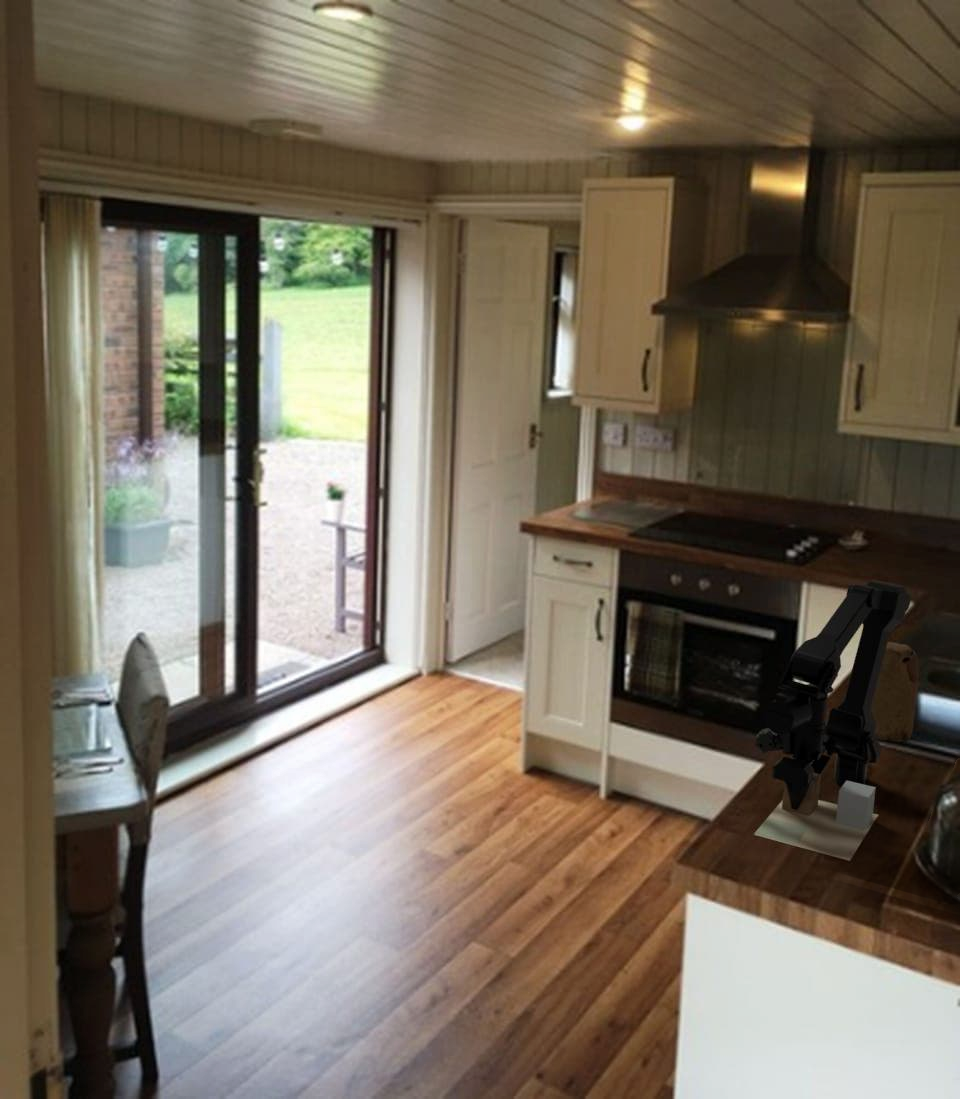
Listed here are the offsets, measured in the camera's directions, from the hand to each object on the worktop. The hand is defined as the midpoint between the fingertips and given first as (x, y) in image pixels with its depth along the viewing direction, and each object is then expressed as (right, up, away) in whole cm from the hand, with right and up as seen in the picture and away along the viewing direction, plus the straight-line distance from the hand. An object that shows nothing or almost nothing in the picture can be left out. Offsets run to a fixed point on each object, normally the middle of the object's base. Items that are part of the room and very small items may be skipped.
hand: (800, 802), depth 203 cm
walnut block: (0, -1, 0) cm, 1 cm away
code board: (+1, -3, -6) cm, 7 cm away
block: (+28, +6, +37) cm, 47 cm away
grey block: (+8, -2, -5) cm, 10 cm away
